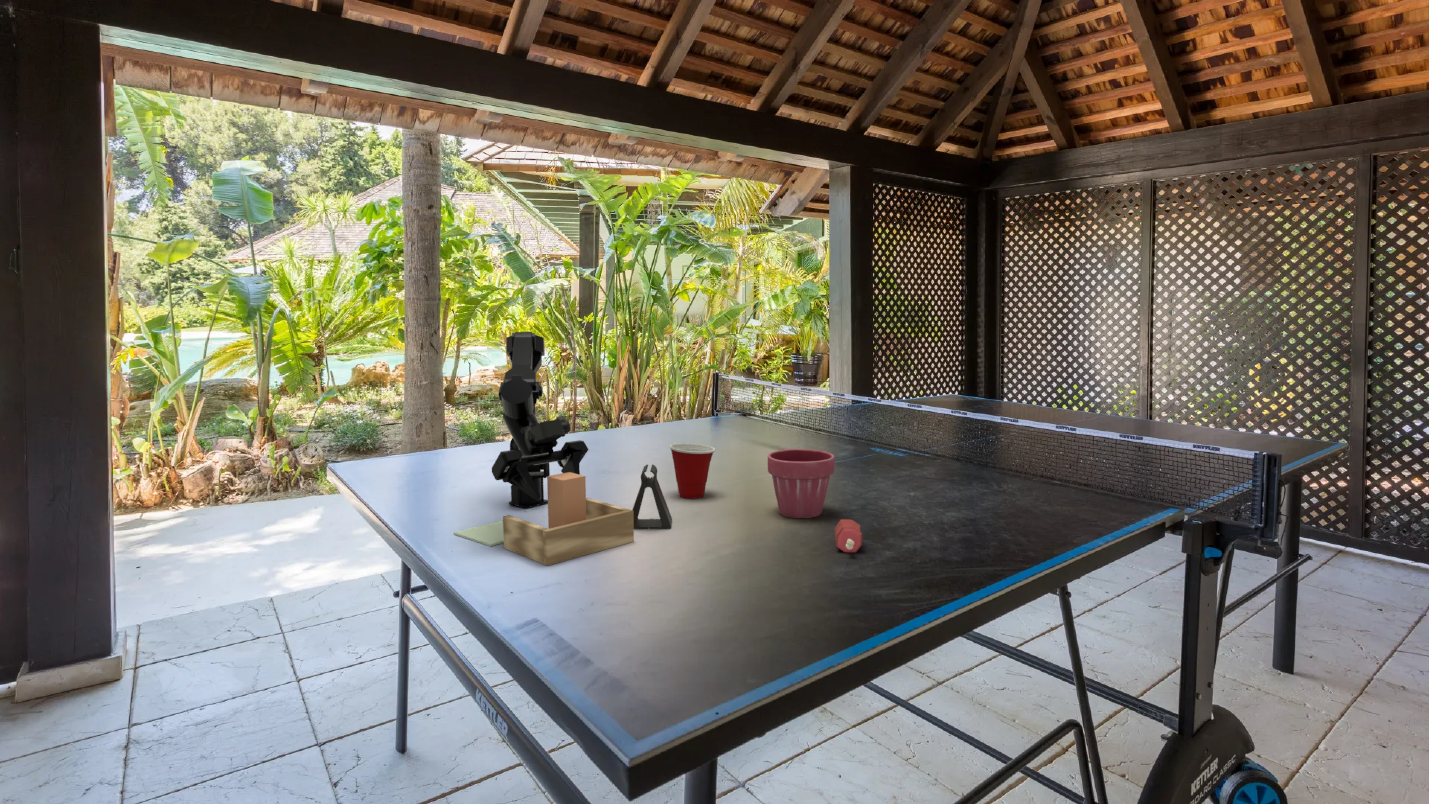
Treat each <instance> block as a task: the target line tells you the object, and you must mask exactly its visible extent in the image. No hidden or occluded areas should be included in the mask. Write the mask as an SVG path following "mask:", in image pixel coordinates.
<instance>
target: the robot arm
mask: <svg viewBox="0 0 1429 804" xmlns="http://www.w3.org/2000/svg"><path fill="white" fill-rule="evenodd" d="M505 344H506V346H505V349H506V351H505V352H506V356H507V357H509V360H510V363H511V364H510V365H511V368H510V369H508V370H507V371H506V372H505V373H504V378H503V382H502V381H501V382H500V385H499V389H498V398H499V399H498V400H499V401H501V403H502V409H503V415H502V419H503V421H504V424H505V425H506V427H507V429H508V431H509V433H510V435H511V440H510V443H509V450H503V451H500V453H499V455H498V456H497V458H496V459H495V462H494V463H493V465H492V466H491V473H492V476H493V477H494V480H496V481H501V480H502V482H503V483H509V484H510V485H511V486H510V493H511V494H510V496H511V497H510V498H511V500H510V501H508V505H512V506H516V507H519V508H524V509H529V508H533V507H536V506H540V505H544V504H548V499H545V496H544V495H545V494H544V492H545V491H544V490H545V489H544V479H547V476H551V475H550V473H551V472H550V471H551V470H550V463H554V462H555V463H556V462H557V464H558V467H560V468H561V470H560V471H561V474H562V473H567V472H571V473H575V474H579V475H581V471H580V463H581V462H582V460H583V459H584V457H585V456H586V454H587V453H588V451H589V448H588V446H587V445H586V441H584V440H582V439H581V440H580V439H579V440H573V441H572V440H571V441H566V442H564V443H563V444H564V445H563V446H562V447H561V449H560V450H554V448H555V447H556V446H557V445H558V440H559V439H560V438H563V437H565V436H566V434H568V433H570V431H571V428H572V427H571V425H570V422H569V420H568V419H567V417H566V416H557V418H555V419H553V420H543V421H541V422H540V421H538V418H537V417H536V416H537V415H536V404H537V402H538V401H537V400H541V398H542V396H543V394H544V390H543V386H542V384H541V383H540V381H537V373H538V371H539V370H540V368H541V367H542V365H543V362H542V361H543V357H544V356H546V355H545V354H546V353H545V348H546V347H545V346H546V345H545V339H544V337H543V336H539V335H537V334H536V333H535V332H532V331H515V332H513V333H511V335H509V336H507V337H506V338H505Z"/></svg>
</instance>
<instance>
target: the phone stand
mask: <svg viewBox="0 0 1429 804" xmlns="http://www.w3.org/2000/svg"><path fill="white" fill-rule="evenodd" d="M648 467H649V464H645V465H644V466H643V468H642V472H641V475H640V483H641V484H640V487H639V489H638V492H637V496H636V498H635V501H634V504H633V506H632V509H631V510H633V514H634V530H669V529H672V524H673V518H672V517H673V516H672V514H671V512H670V509H669V507H668V504H667V501H666V499H665V496H664V493H663V491H662V489H661V486H660V483H659V481H658V468H657V466H656V465H654V464H653V463H652V464H651V467H650V469H649V470H650V471H649V472H650V473H652V474H653V476H651V477H650V476H647V475H646V474H645V473H646V472H647V471H648ZM647 488H650V489H651V491H652V495H653V499H654V502H655V505H656V508H657V513H658V517H659V518H642V519H641V518H639V515H640V511H641V508H642V507H641V506H642V503H643V499H644V495H645V492H646V489H647Z"/></svg>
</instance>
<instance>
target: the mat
mask: <svg viewBox="0 0 1429 804" xmlns="http://www.w3.org/2000/svg"><path fill="white" fill-rule="evenodd" d="M453 535H454V536H457V537H461V538H462V539H463V538H464V539H467V540H470V541H473V542H475V543H480V544H482V545H485V546H488V547H493V546H496V545H501V544H504V533H503V519H502V520H499V521H494V522H489V523H487V524H482V525H478V526H474V527H471V528H470V527H469V528H467V529H462V530H458V531H455V532H454V533H453Z"/></svg>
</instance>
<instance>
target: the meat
mask: <svg viewBox="0 0 1429 804" xmlns="http://www.w3.org/2000/svg"><path fill="white" fill-rule="evenodd" d="M834 539H835V547H837V548H838V549H839V550H841V551H842V552H843V553H854V554H855V553H857V551H858V550H859V549H860V548H861V547H862V545H863V533H862V531H861V524H859V523H857V522H856V521H855V520H853V519H845V518H844V519H843V518H842V519H839V521H838V523H837V524H836V525H835V527H834Z"/></svg>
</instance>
